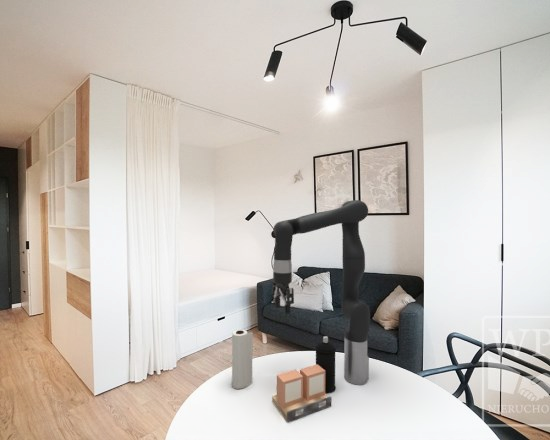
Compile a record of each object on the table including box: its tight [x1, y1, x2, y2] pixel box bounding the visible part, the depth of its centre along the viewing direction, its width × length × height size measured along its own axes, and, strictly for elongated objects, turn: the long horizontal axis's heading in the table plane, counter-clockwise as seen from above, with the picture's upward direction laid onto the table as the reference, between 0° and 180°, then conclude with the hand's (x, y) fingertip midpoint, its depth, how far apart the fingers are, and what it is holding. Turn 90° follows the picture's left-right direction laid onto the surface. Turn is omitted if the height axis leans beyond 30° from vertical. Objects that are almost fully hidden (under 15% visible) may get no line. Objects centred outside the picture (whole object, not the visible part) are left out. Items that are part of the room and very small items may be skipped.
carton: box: [276, 369, 303, 408], centre depth 98 cm, size 8×5×9 cm, turn 117°
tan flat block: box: [271, 394, 332, 423], centre depth 99 cm, size 18×12×3 cm, turn 117°
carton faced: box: [299, 364, 326, 401], centre depth 102 cm, size 8×5×9 cm, turn 117°
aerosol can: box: [315, 335, 337, 394], centre depth 109 cm, size 8×8×20 cm
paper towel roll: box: [231, 329, 254, 390], centre depth 110 cm, size 7×6×21 cm
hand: (282, 310), depth 111 cm, fingers open, 8 cm apart
